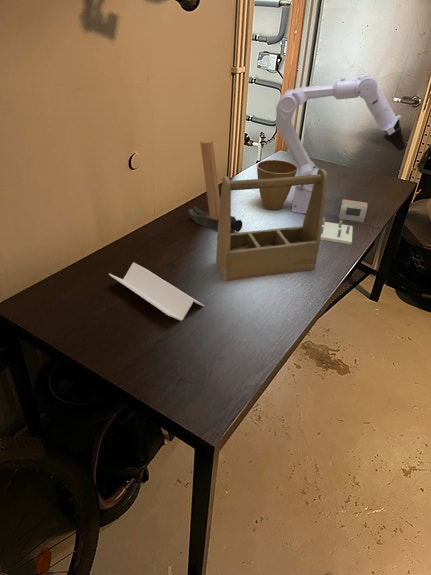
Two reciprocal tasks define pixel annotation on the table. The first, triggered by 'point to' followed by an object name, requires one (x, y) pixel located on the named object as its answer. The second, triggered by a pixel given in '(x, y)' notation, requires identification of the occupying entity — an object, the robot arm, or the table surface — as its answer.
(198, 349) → the table surface
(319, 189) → the caddy
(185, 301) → the z bracket
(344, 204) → the block
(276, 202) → the plant pot
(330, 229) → the peg board
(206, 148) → the hammer
